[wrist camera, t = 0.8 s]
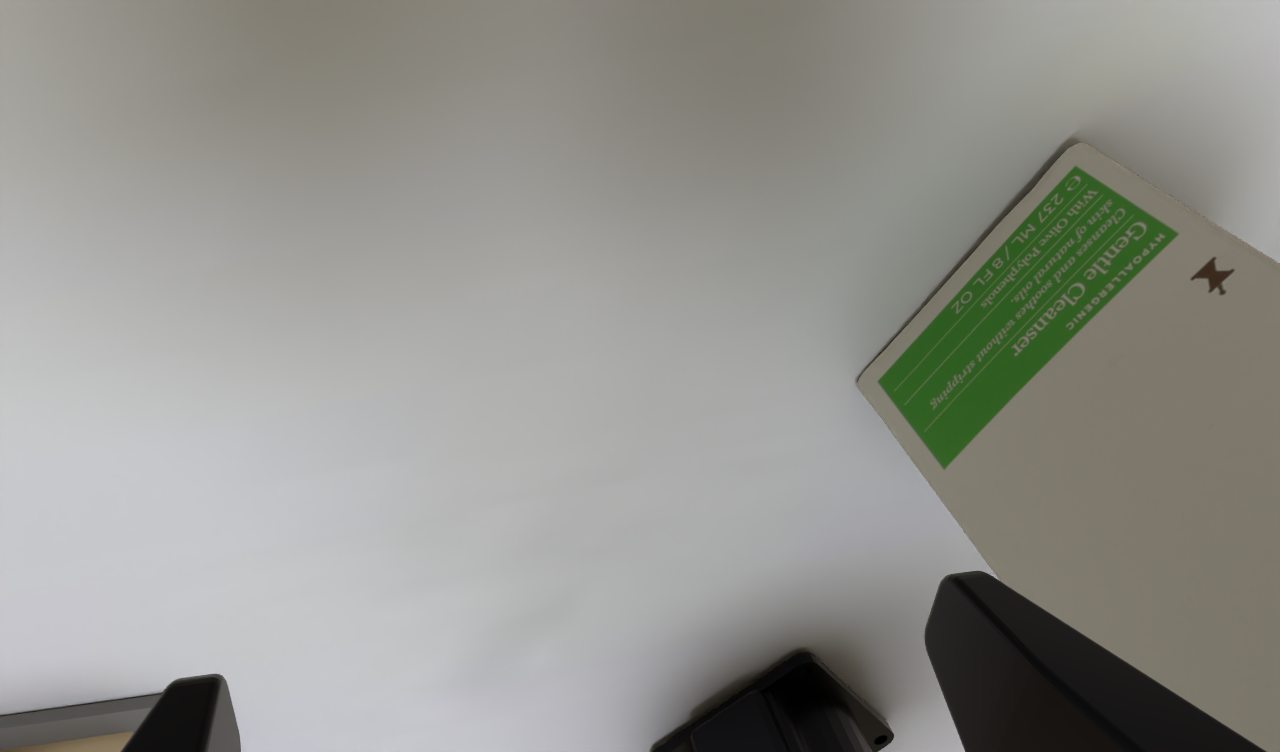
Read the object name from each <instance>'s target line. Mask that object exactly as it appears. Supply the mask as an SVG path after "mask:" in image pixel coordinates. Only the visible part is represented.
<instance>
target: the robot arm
mask: <svg viewBox="0 0 1280 752" xmlns="http://www.w3.org/2000/svg"><path fill="white" fill-rule="evenodd" d="M925 645H926V650H927V653H928V656H929V659H930V661H931V664H932V666H933V669H934V672H935V674H936V677H937V679H938V682H939V685H940V687H941V690H942V692H943V695H944V698H945V700H946V703H947V705H948V708H949V711H950V713H951V716H952V718H953V721H954V724H955V726H956V729H957V731H958V734H959V737H960V739H961V742H962V744H963V747H964V750H965V752H1267V751H1265V750H1263V749H1262V748H1260V747H1259V746H1257V745H1256V744H1254V743H1253V742H1251V741H1249V740H1248V739H1246V738H1245V737H1243V736H1242V735H1240V734H1238V733H1237V732H1235V731H1234V730H1232V729H1231V728H1229V727H1227V726H1226V725H1224V724H1223V723H1221V722H1220V721H1218V720H1217V719H1215V718H1213V717H1212V716H1210V715H1209V714H1207V713H1206V712H1204V711H1202V710H1201V709H1199V708H1198V707H1196V706H1195V705H1193V704H1192V703H1190V702H1188V701H1187V700H1185V699H1184V698H1182V697H1181V696H1179V695H1177V694H1176V693H1174V692H1173V691H1171V690H1170V689H1168V688H1166V687H1165V686H1163V685H1162V684H1160V683H1159V682H1157V681H1156V680H1154V679H1152V678H1151V677H1149V676H1148V675H1146V674H1145V673H1143V672H1141V671H1140V670H1138V669H1137V668H1135V667H1134V666H1132V665H1130V664H1129V663H1127V662H1126V661H1124V660H1123V659H1121V658H1120V657H1118V656H1116V655H1115V654H1113V653H1112V652H1110V651H1109V650H1107V649H1105V648H1104V647H1102V646H1101V645H1099V644H1098V643H1096V642H1094V641H1093V640H1091V639H1090V638H1088V637H1087V636H1085V635H1084V634H1082V633H1080V632H1079V631H1077V630H1076V629H1074V628H1073V627H1071V626H1069V625H1068V624H1066V623H1065V622H1063V621H1062V620H1060V619H1059V618H1057V617H1055V616H1054V615H1052V614H1051V613H1049V612H1048V611H1046V610H1044V609H1043V608H1041V607H1040V606H1038V605H1037V604H1035V603H1033V602H1032V601H1030V600H1029V599H1027V598H1026V597H1024V596H1023V595H1021V594H1019V593H1018V592H1016V591H1015V590H1013V589H1012V588H1010V587H1008V586H1007V585H1005V584H1004V583H1002V582H1001V581H999V580H997V579H996V578H994V577H993V576H991V575H989V574H987V573H985V572H982V571H971V572H964V573H956V574H950V575H947V576H946V577H945V578H944V579H943V580H942V581H941V583H940V585H939V588H938V591H937V594H936V597H935V600H934V603H933V606H932V609H931V612H930V615H929V618H928V621H927V624H926V628H925ZM893 738H894V734H893V732H892V730H891V728H890V726H889V725H888V723H887V722H886V721H885V720H884V719H883V718H882V717H881V716H880V715H878V714H877V713H876V712H875V711H874V710H873V709H872V708H871V707H870V706H869V705H868V704H866V703H865V702H864V701H863V700H862V699H861V698H860V697H859V696H858V695H857V694H856V693H854V692H853V691H852V690H851V689H850V688H849V687H848V686H847V685H846V684H845V683H844V682H843V681H841V680H840V679H839V678H838V677H837V676H836V675H835V674H834V673H833V672H832V671H831V670H829V669H828V668H827V667H826V666H825V665H824V664H823V663H822V662H821V661H820V660H819V659H817V658H816V657H815V656H814V655H813V654H811V653H806V652H804V653H799V654H797V655H795V656H793V657H791V658H790V659H789V660H787V661H786V662H784V663H783V664H781V665H780V666H778V667H777V668H775V669H774V670H772V671H771V672H769V673H768V674H766V675H765V676H763V677H762V678H760V679H759V680H757V681H756V682H754V683H753V684H752V685H750V686H749V687H747V688H746V689H744V690H743V691H741V692H740V693H738V694H737V695H735V696H734V697H732V698H731V699H729V700H728V701H726V702H725V703H723V704H722V705H720V706H719V707H718V708H716V709H715V710H713V711H712V712H710V713H709V714H707V715H706V716H704V717H703V718H701V719H700V720H698V721H697V722H695V723H694V724H692V725H691V726H689V727H688V728H686V729H685V730H683V731H682V732H681V733H679V734H678V735H676V736H675V737H673V738H672V739H670V740H669V741H667V742H666V743H664V744H663V745H661V746H660V747H658V748H657V749H656V750H655V751H653V752H878V751H879V750H881V749H882V748H884V747H885V746H887V745H888V744H889V743H891V741H892V740H893ZM121 752H241V746H240V736H239V730H238V726H237V722H236V718H235V714H234V709H233V705H232V701H231V697H230V693H229V689H228V685H227V682H226V680H225V678H224V677H223V676H222V675H220V674H208V675H201V676H194V677H186V678H180V679H177V680H175V681H173V682H172V683H170V684H169V685H168V686H167V687H166V689H165V690H164V691H163V693H162V694H161V696H160V697H159V698H158V700H157V701H156V703H155V704H154V705H153V707H152V708H151V710H150V711H149V712H148V714H147V715H146V717H145V718H144V719H143V721H142V722H141V724H140V725H139V726H138V728H137V729H136V731H135V732H134V733H133V735H132V736H131V738H130V739H129V740H128V742H127V743H126V745H125V746H124V747H123V749H122V750H121Z"/></svg>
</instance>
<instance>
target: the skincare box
mask: <svg viewBox="0 0 1280 752" xmlns="http://www.w3.org/2000/svg"><path fill="white" fill-rule="evenodd" d="M858 387H859V390H860V391H861V392H862V394H863V395H864V396H865V398H866V399H867V400H868V402H869V403H870V404H871V405H872V407H873V408H874V409H875V411H876V412H877V413H878V414H879V416H880V417H881V418H882V419H883V421H884V422H885V424H886V425H887V427H888V428H889V429H890V431H891V432H892V434H893V435H894V436H895V438H896V439H897V441H898V442H899V443H900V445H901V446H902V447H903V449H904V450H905V452H906V453H907V454H908V456H909V457H910V458H911V460H912V461H913V462H914V464H915V465H916V467H917V468H918V469H919V471H920V472H921V473H922V475H923V476H924V477H925V479H926V480H927V481H928V483H929V484H930V486H931V487H932V488H933V490H934V491H935V492H936V494H937V495H938V496H939V498H940V499H941V501H942V502H943V503H944V505H945V506H946V507H947V509H948V510H949V511H950V513H951V514H952V516H953V517H954V518H955V520H956V521H957V522H958V524H959V525H960V526H961V528H962V529H963V531H964V532H965V533H966V535H967V536H968V537H969V539H970V540H971V541H972V543H973V544H974V546H975V547H976V548H977V550H978V551H979V552H980V554H981V555H982V557H983V558H984V559H985V561H986V562H987V563H988V565H989V566H990V568H991V569H992V570H993V572H994V573H995V574H996V576H997V577H998V578H999V580H1000V581H1001V582H1002V583H1004V584H1005V585H1007V586H1008V587H1010V588H1012V589H1013V590H1015V591H1016V592H1018V593H1019V594H1021V595H1023V596H1024V597H1026V598H1027V599H1029V600H1030V601H1032V602H1033V603H1035V604H1037V605H1038V606H1040V607H1041V608H1043V609H1044V610H1046V611H1048V612H1049V613H1051V614H1052V615H1054V616H1055V617H1057V618H1059V619H1060V620H1062V621H1063V622H1065V623H1066V624H1068V625H1069V626H1071V627H1073V628H1074V629H1076V630H1077V631H1079V632H1080V633H1082V634H1084V635H1085V636H1087V637H1088V638H1090V639H1091V640H1093V641H1094V642H1096V643H1098V644H1099V645H1101V646H1102V647H1104V648H1105V649H1107V650H1109V651H1110V652H1112V653H1113V654H1115V655H1116V656H1118V657H1120V658H1121V659H1123V660H1124V661H1126V662H1127V663H1129V664H1130V665H1132V666H1134V667H1135V668H1137V669H1138V670H1140V671H1141V672H1143V673H1145V674H1146V675H1148V676H1149V677H1151V678H1152V679H1154V680H1156V681H1157V682H1159V683H1160V684H1162V685H1163V686H1165V687H1166V688H1168V689H1170V690H1171V691H1173V692H1174V693H1176V694H1177V695H1179V696H1181V697H1182V698H1184V699H1185V700H1187V701H1188V702H1190V703H1192V704H1193V705H1195V706H1196V707H1198V708H1199V709H1201V710H1202V711H1204V712H1206V713H1207V714H1209V715H1210V716H1212V717H1213V718H1215V719H1217V720H1218V721H1220V722H1221V723H1223V724H1224V725H1226V726H1227V727H1229V728H1231V729H1232V730H1234V731H1235V732H1237V733H1238V734H1240V735H1242V736H1243V737H1245V738H1246V739H1248V740H1249V741H1251V742H1253V743H1254V744H1256V745H1257V746H1259V747H1260V748H1262V749H1263V750H1265V751H1267V752H1280V264H1279V263H1278V262H1276V261H1274V260H1273V259H1271V258H1270V257H1268V256H1266V255H1265V254H1263V253H1261V252H1260V251H1258V250H1257V249H1255V248H1253V247H1252V246H1250V245H1248V244H1247V243H1245V242H1244V241H1242V240H1240V239H1239V238H1237V237H1235V236H1234V235H1232V234H1231V233H1229V232H1227V231H1226V230H1224V229H1222V228H1221V227H1219V226H1217V225H1216V224H1214V223H1213V222H1211V221H1209V220H1208V219H1206V218H1204V217H1203V216H1201V215H1200V214H1198V213H1196V212H1195V211H1193V210H1192V209H1190V208H1188V207H1187V206H1185V205H1184V204H1182V203H1180V202H1179V201H1177V200H1176V199H1174V198H1172V197H1171V196H1169V195H1168V194H1166V193H1164V192H1163V191H1161V190H1160V189H1158V188H1156V187H1155V186H1153V185H1152V184H1150V183H1148V182H1147V181H1145V180H1144V179H1142V178H1141V177H1139V176H1137V175H1136V174H1134V173H1133V172H1131V171H1130V170H1128V169H1126V168H1125V167H1123V166H1122V165H1120V164H1118V163H1117V162H1115V161H1114V160H1112V159H1110V158H1109V157H1107V156H1106V155H1104V154H1102V153H1101V152H1099V151H1098V150H1096V149H1094V148H1093V147H1091V146H1090V145H1088V144H1086V143H1078V144H1075V145H1073V146H1071V147H1069V148H1068V149H1067V150H1066V151H1065V152H1064V153H1063V154H1062V155H1061V156H1060V157H1059V158H1058V159H1057V161H1056V162H1055V163H1054V164H1053V165H1052V166H1051V167H1050V168H1049V170H1048V171H1047V172H1046V173H1045V174H1044V176H1043V177H1042V178H1041V179H1040V181H1039V182H1038V183H1037V184H1036V185H1035V187H1034V188H1033V189H1032V190H1031V191H1030V192H1029V193H1028V194H1027V195H1026V196H1025V197H1024V198H1023V199H1022V200H1021V201H1020V202H1019V203H1018V204H1017V205H1016V206H1015V207H1014V209H1013V210H1012V211H1011V212H1010V213H1009V214H1008V215H1007V216H1006V217H1005V218H1004V219H1003V220H1002V221H1001V222H1000V223H999V224H998V225H997V226H996V227H995V229H994V230H993V231H992V232H991V233H990V234H989V235H988V236H987V237H986V238H985V240H984V241H983V242H982V243H981V244H980V245H979V246H978V248H977V249H976V250H975V251H974V252H973V253H972V255H971V256H970V257H969V258H968V259H967V260H966V261H965V262H964V263H963V264H962V266H961V267H960V268H959V269H958V270H957V271H956V272H955V273H954V274H953V275H952V276H951V278H950V279H949V280H948V281H947V282H946V283H945V284H944V285H943V286H942V288H941V289H940V290H939V291H938V292H937V293H936V294H935V295H934V296H933V298H932V299H931V300H930V301H929V302H928V303H927V304H926V305H925V306H924V307H923V309H922V310H921V311H920V312H919V313H918V314H917V315H916V316H915V317H914V318H913V320H912V321H911V322H910V323H909V324H908V325H907V326H906V327H905V328H904V329H903V330H902V331H901V333H900V334H899V335H898V336H897V337H896V338H895V339H894V340H893V341H892V343H891V344H890V345H889V346H888V347H887V348H886V349H885V350H884V351H883V352H882V353H881V354H880V355H879V356H878V357H877V358H876V359H875V360H874V361H873V363H872V364H871V365H870V366H869V367H868V368H867V369H866V370H865V371H864V372H863V373H862V375H861V376H860V378H859V380H858Z"/></svg>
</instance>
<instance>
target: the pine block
mask: <svg viewBox="0 0 1280 752" xmlns="http://www.w3.org/2000/svg"><path fill="white" fill-rule="evenodd" d="M132 735H133V731H131V732H124V733H117V734H110V735H104V736H97V737H90V738H83V739H76V740H69V741H62V742H56V743H49V744H42V745H35V746H28V747H21V748H14V749H7V750H1V751H0V752H121V750H122V749H123V747H124V746H125V745H126V743H127V742H128V740H129V739H130V738H131V736H132Z"/></svg>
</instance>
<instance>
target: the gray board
mask: <svg viewBox="0 0 1280 752" xmlns="http://www.w3.org/2000/svg"><path fill="white" fill-rule="evenodd" d="M160 696H161V694H160V695H153V696H145V697H138V698H131V699H124V700H116V701H109V702H102V703H95V704H88V705H80V706H73V707H66V708H59V709H51V710H44V711H37V712H30V713H23V714H15V715H8V716H1V717H0V751H1V750H7V749H14V748H21V747H28V746H35V745H42V744H49V743H56V742H62V741H69V740H76V739H83V738H90V737H97V736H104V735H110V734H117V733H124V732H131V731H133V733H134V732H135V731H136V729H137V728H138V726H139V725H140V724H141V722H142V721H143V719H144V718H145V717H146V715H147V714H148V712H149V711H150V710H151V708H152V707H153V705H154V704H155V703H156V701H157V700H158V698H159V697H160Z"/></svg>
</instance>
